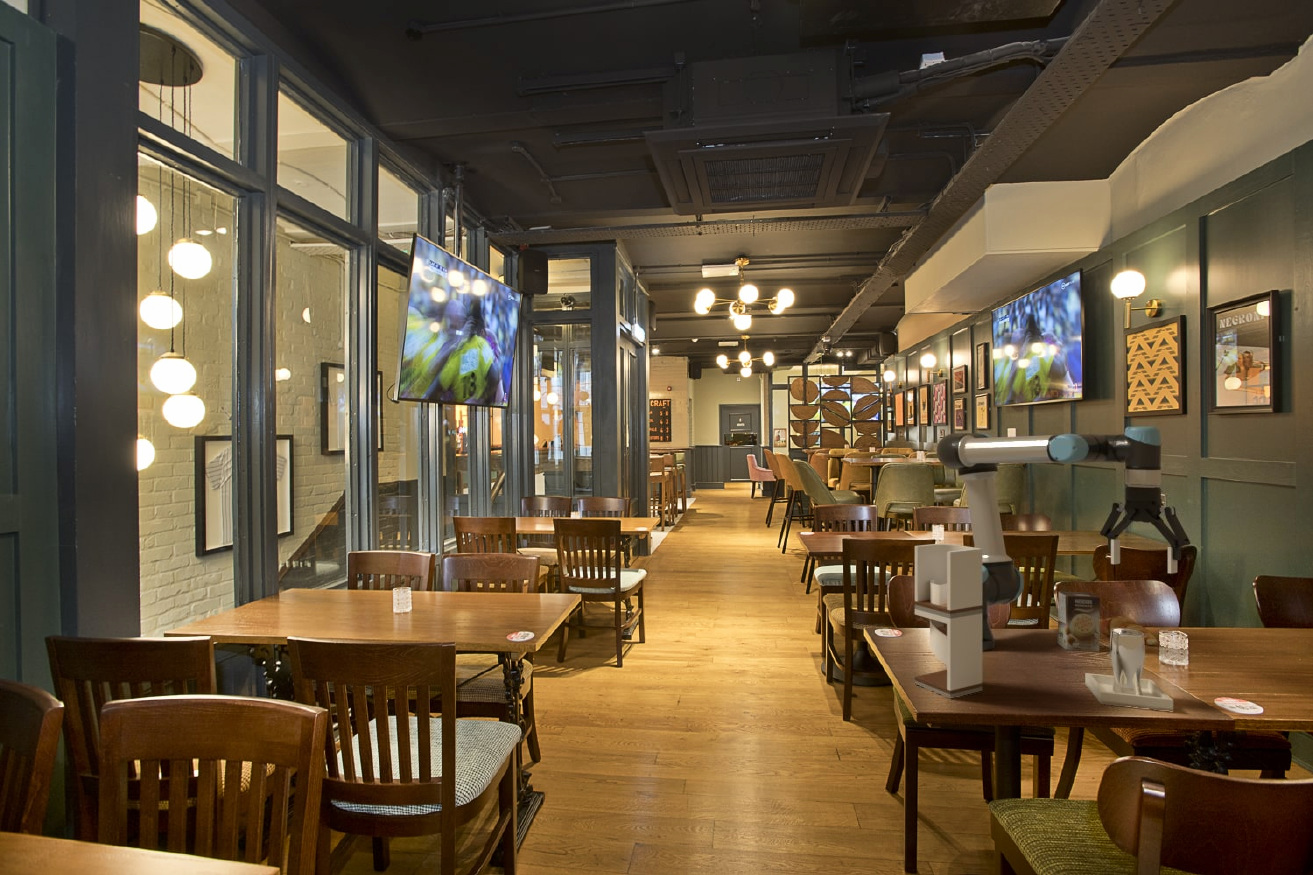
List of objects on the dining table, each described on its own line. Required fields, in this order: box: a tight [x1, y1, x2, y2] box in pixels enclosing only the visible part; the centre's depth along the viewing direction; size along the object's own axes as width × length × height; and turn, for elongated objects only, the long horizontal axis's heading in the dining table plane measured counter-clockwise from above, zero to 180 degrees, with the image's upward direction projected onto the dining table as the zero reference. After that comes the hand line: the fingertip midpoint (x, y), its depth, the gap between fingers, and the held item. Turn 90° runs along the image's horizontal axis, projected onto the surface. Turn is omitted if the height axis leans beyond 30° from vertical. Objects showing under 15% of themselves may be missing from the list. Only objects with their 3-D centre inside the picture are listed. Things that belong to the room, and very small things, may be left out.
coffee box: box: [1057, 590, 1101, 652], centre depth 200 cm, size 9×6×16 cm
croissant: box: [1099, 614, 1159, 646], centre depth 211 cm, size 21×10×8 cm, turn 18°
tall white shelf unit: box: [914, 542, 983, 698], centre depth 167 cm, size 11×11×35 cm
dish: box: [1084, 672, 1174, 712], centre depth 161 cm, size 14×14×3 cm
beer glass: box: [1109, 628, 1146, 695], centre depth 161 cm, size 7×7×15 cm
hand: (1143, 568), depth 173 cm, fingers open, 13 cm apart
